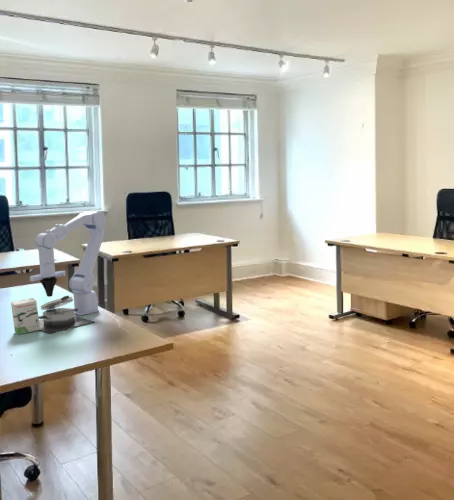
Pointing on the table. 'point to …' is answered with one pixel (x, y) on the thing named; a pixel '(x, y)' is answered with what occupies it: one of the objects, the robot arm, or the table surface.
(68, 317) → the cooking pot
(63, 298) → the lid
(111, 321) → the table surface
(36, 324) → the ink box
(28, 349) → the table surface
